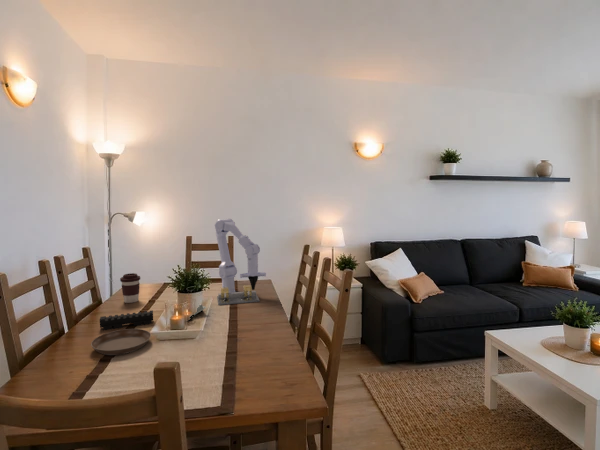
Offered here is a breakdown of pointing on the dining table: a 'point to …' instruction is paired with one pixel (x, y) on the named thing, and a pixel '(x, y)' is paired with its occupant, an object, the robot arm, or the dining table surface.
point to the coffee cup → (130, 287)
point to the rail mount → (126, 320)
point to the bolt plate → (238, 300)
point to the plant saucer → (121, 341)
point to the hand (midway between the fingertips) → (253, 289)
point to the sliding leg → (247, 290)
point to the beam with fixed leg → (232, 294)
